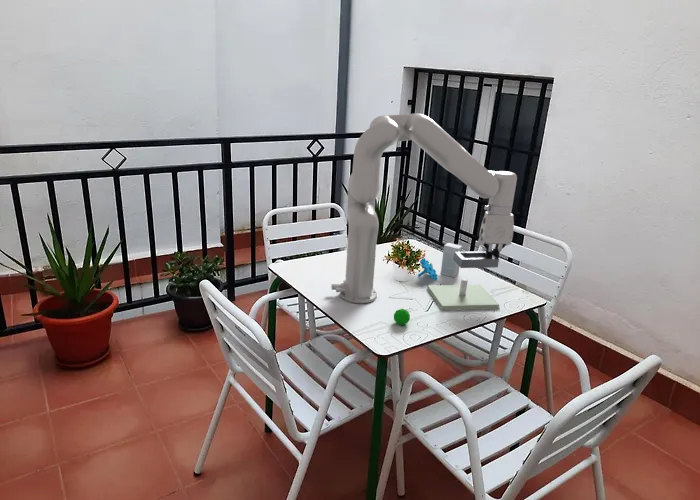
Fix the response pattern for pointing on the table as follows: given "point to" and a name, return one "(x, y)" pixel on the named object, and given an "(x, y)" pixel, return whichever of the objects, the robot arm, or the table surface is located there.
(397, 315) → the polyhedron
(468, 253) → the grey hollow rectangular box
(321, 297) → the table surface
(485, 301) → the keeper board
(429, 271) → the blue lumpy piece
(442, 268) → the skincare box
